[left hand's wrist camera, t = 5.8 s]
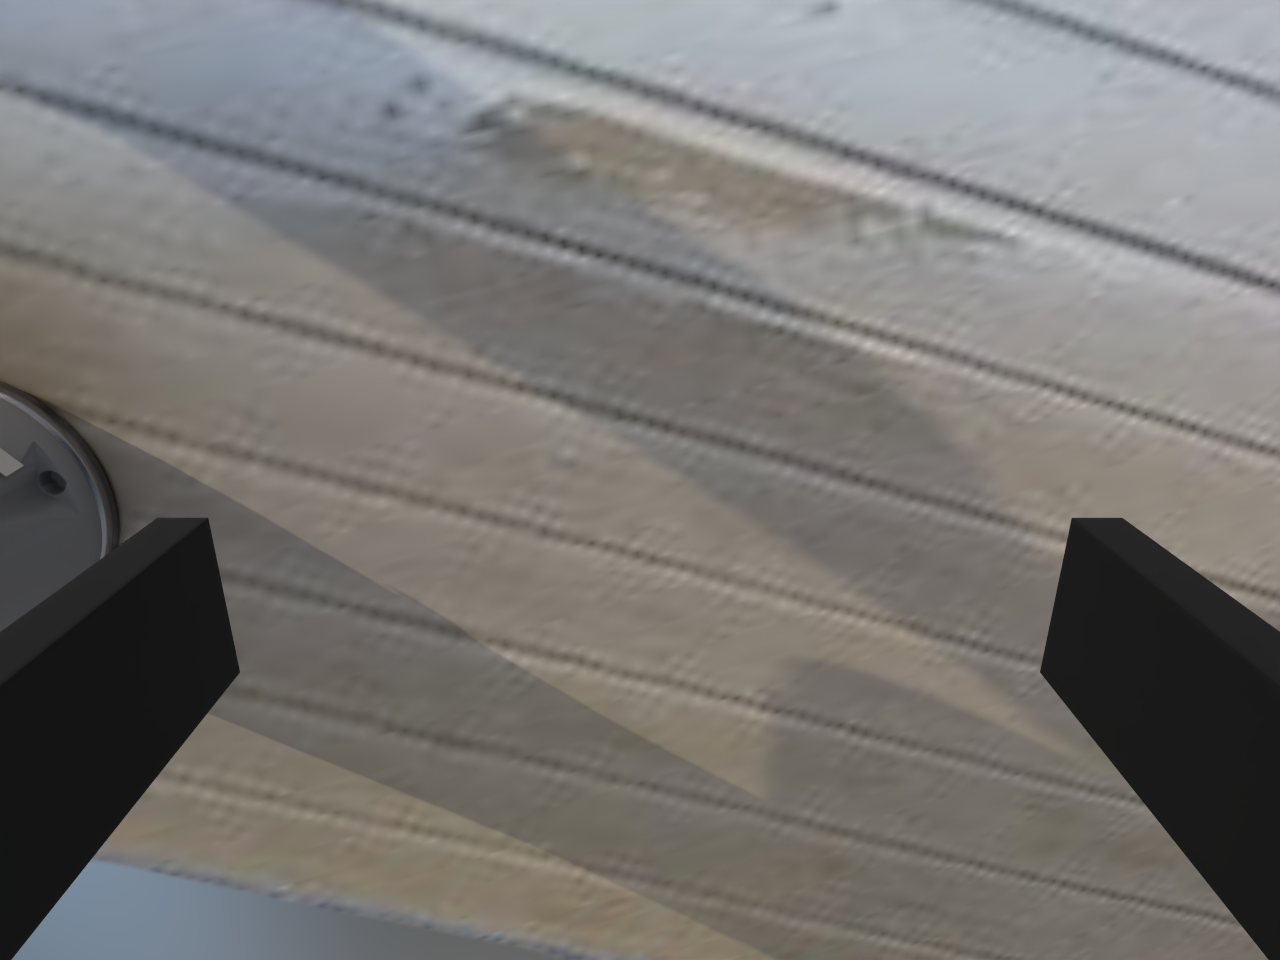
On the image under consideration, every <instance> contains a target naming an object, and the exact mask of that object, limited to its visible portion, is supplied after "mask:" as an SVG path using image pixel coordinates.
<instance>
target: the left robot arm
mask: <svg viewBox="0 0 1280 960" xmlns="http://www.w3.org/2000/svg"><path fill="white" fill-rule="evenodd" d="M117 538H118V518H117V510H116V505H115V501H114V497H113V494H112V491H111V488H110V485H109V483H108V480H107V478H106V476H105V473H104V472H103V470H102V468H101V466H100V464H99V462H98V461H97V459H96V458H95V456H94V455H93V453H92V452H91V450H90V449H89V448H88V446H87V445H86V444H85V442H84V441H83V440H82V439H81V437H80V436H79V435H78V434H77V433H76V432H75V431H74V430H73V429H72V428H71V427H70V426H69V425H68V424H67V423H66V422H65V421H64V420H63V419H62V418H61V417H59V416H58V415H57V414H56V413H54V412H53V411H52V410H51V409H49V408H48V407H47V406H45V405H44V404H42V403H41V402H39V401H38V400H36V399H35V398H33V397H31V396H30V395H28V394H26V393H24V392H23V391H21V390H19V389H17V388H15V387H12V386H10V385H8V384H6V383H3V382H1V381H0V960H11V959H12V958H13V957H14V956H15V954H16V953H17V952H18V951H19V949H20V948H21V947H22V945H23V944H24V943H25V942H26V940H27V939H28V938H29V937H30V936H31V934H32V933H33V932H34V930H35V929H36V928H37V927H38V925H39V924H40V923H41V922H42V920H43V919H44V918H45V917H46V915H47V914H48V913H49V912H50V910H51V909H52V908H53V907H54V905H55V904H56V903H57V902H58V900H59V899H60V898H61V896H62V895H63V894H64V893H65V891H66V890H67V889H68V888H69V886H70V885H71V884H72V883H73V881H74V880H75V879H76V878H77V876H78V875H79V874H80V873H81V871H82V870H83V869H84V868H85V866H86V865H87V864H88V863H89V861H90V860H91V859H92V858H93V856H94V855H95V854H96V853H97V851H98V850H99V849H100V847H101V846H102V845H103V844H104V842H105V841H106V840H107V839H108V837H109V836H110V835H111V834H112V832H113V831H114V830H115V829H116V827H117V826H118V825H119V824H120V822H121V821H122V820H123V819H124V817H125V816H126V815H127V814H128V812H129V811H130V810H131V809H132V807H133V806H134V805H135V803H136V802H137V801H138V800H139V798H140V797H141V796H142V795H143V793H144V792H145V791H146V790H147V788H148V787H149V786H150V785H151V783H152V782H153V781H154V780H155V778H156V777H157V776H158V775H159V773H160V772H161V771H162V770H163V768H164V767H165V766H166V765H167V763H168V762H169V761H170V759H171V758H172V757H173V756H174V754H175V753H176V752H177V751H178V749H179V748H180V747H181V746H182V744H183V743H184V742H185V741H186V739H187V738H188V737H189V736H190V734H191V733H192V732H193V731H194V729H195V728H196V727H197V726H198V724H199V723H200V722H201V721H202V719H203V718H204V717H205V715H206V714H207V713H208V712H209V710H210V709H211V708H212V707H213V705H214V704H215V703H216V702H217V700H218V699H219V698H220V697H221V695H222V694H223V693H224V692H225V690H226V689H227V688H228V687H229V685H230V684H231V683H232V682H233V680H234V679H235V678H236V676H237V675H238V674H239V673H240V670H239V666H238V661H237V656H236V651H235V646H234V641H233V636H232V632H231V627H230V622H229V617H228V612H227V607H226V602H225V598H224V593H223V588H222V583H221V578H220V573H219V568H218V564H217V559H216V554H215V549H214V544H213V539H212V534H211V530H210V525H209V520H208V518H157V519H156V520H154V521H153V522H151V523H150V524H149V525H147V526H146V527H145V528H143V529H142V530H140V531H139V532H138V533H136V534H135V535H133V536H132V537H131V538H129V539H128V540H127V541H125V542H124V543H122V544H121V545H120V546H118V547H117V548H116V546H117ZM1040 673H1041V674H1042V675H1043V676H1044V678H1045V679H1046V680H1047V682H1048V683H1049V684H1050V685H1051V687H1052V688H1053V689H1054V690H1055V692H1056V693H1057V694H1058V695H1059V697H1060V698H1061V699H1062V700H1063V702H1064V703H1065V704H1066V705H1067V707H1068V708H1069V709H1070V710H1071V712H1072V713H1073V714H1074V715H1075V717H1076V718H1077V719H1078V721H1079V722H1080V723H1081V724H1082V726H1083V727H1084V728H1085V729H1086V731H1087V732H1088V733H1089V734H1090V736H1091V737H1092V738H1093V739H1094V741H1095V742H1096V743H1097V744H1098V746H1099V747H1100V748H1101V749H1102V751H1103V752H1104V753H1105V754H1106V756H1107V757H1108V758H1109V759H1110V761H1111V762H1112V763H1113V765H1114V766H1115V767H1116V768H1117V770H1118V771H1119V772H1120V773H1121V775H1122V776H1123V777H1124V778H1125V780H1126V781H1127V782H1128V783H1129V785H1130V786H1131V787H1132V788H1133V790H1134V791H1135V792H1136V793H1137V795H1138V796H1139V797H1140V798H1141V800H1142V801H1143V802H1144V803H1145V805H1146V806H1147V807H1148V809H1149V810H1150V811H1151V812H1152V814H1153V815H1154V816H1155V817H1156V819H1157V820H1158V821H1159V822H1160V824H1161V825H1162V826H1163V827H1164V829H1165V830H1166V831H1167V832H1168V834H1169V835H1170V836H1171V837H1172V839H1173V840H1174V841H1175V842H1176V844H1177V845H1178V846H1179V847H1180V849H1181V850H1182V851H1183V853H1184V854H1185V855H1186V856H1187V858H1188V859H1189V860H1190V861H1191V863H1192V864H1193V865H1194V866H1195V868H1196V869H1197V870H1198V871H1199V873H1200V874H1201V875H1202V876H1203V878H1204V879H1205V880H1206V881H1207V883H1208V884H1209V885H1210V886H1211V888H1212V889H1213V890H1214V892H1215V893H1216V894H1217V895H1218V897H1219V898H1220V899H1221V900H1222V902H1223V903H1224V904H1225V905H1226V907H1227V908H1228V909H1229V910H1230V912H1231V913H1232V914H1233V915H1234V917H1235V918H1236V919H1237V920H1238V922H1239V923H1240V924H1241V925H1242V927H1243V928H1244V929H1245V930H1246V932H1247V933H1248V934H1249V936H1250V937H1251V938H1252V939H1253V941H1254V942H1255V943H1256V944H1257V946H1258V947H1259V948H1260V949H1261V951H1262V952H1263V953H1264V954H1265V956H1266V957H1267V958H1268V959H1269V960H1280V632H1279V631H1278V630H1276V629H1275V628H1274V627H1272V626H1271V625H1270V624H1268V623H1267V622H1265V621H1264V620H1263V619H1261V618H1260V617H1258V616H1257V615H1256V614H1254V613H1253V612H1252V611H1250V610H1249V609H1247V608H1246V607H1245V606H1243V605H1242V604H1241V603H1239V602H1238V601H1236V600H1235V599H1234V598H1232V597H1231V596H1229V595H1228V594H1227V593H1225V592H1224V591H1223V590H1221V589H1220V588H1218V587H1217V586H1216V585H1214V584H1213V583H1211V582H1210V581H1209V580H1207V579H1206V578H1205V577H1203V576H1202V575H1200V574H1199V573H1198V572H1196V571H1195V570H1194V569H1192V568H1191V567H1189V566H1188V565H1187V564H1185V563H1184V562H1182V561H1181V560H1180V559H1178V558H1177V557H1176V556H1174V555H1173V554H1171V553H1170V552H1169V551H1167V550H1166V549H1164V548H1163V547H1162V546H1160V545H1159V544H1158V543H1156V542H1155V541H1153V540H1152V539H1151V538H1149V537H1148V536H1147V535H1145V534H1144V533H1142V532H1141V531H1140V530H1138V529H1137V528H1135V527H1134V526H1133V525H1131V524H1130V523H1129V522H1127V521H1126V520H1124V519H1123V518H1072V520H1071V525H1070V530H1069V534H1068V539H1067V544H1066V549H1065V554H1064V559H1063V564H1062V568H1061V573H1060V578H1059V583H1058V588H1057V593H1056V598H1055V602H1054V607H1053V612H1052V617H1051V622H1050V627H1049V632H1048V636H1047V641H1046V646H1045V651H1044V656H1043V661H1042V666H1041V670H1040Z"/></svg>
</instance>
